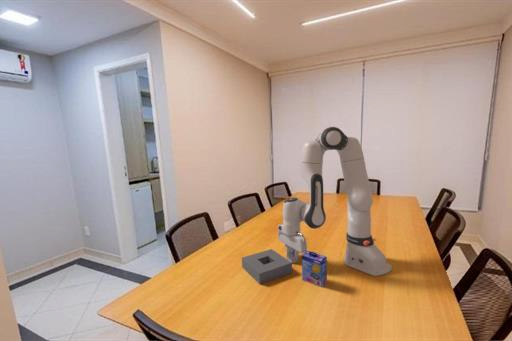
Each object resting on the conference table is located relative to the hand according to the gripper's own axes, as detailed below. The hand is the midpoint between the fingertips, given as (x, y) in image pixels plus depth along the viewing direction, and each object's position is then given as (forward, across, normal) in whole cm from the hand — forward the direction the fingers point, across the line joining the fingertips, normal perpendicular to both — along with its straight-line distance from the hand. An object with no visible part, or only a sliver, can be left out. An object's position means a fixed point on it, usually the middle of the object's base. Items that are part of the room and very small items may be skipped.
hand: (292, 254), depth 129 cm
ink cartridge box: (+4, -20, +3) cm, 21 cm away
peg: (+4, 0, 0) cm, 4 cm away
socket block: (+4, 0, +16) cm, 16 cm away
